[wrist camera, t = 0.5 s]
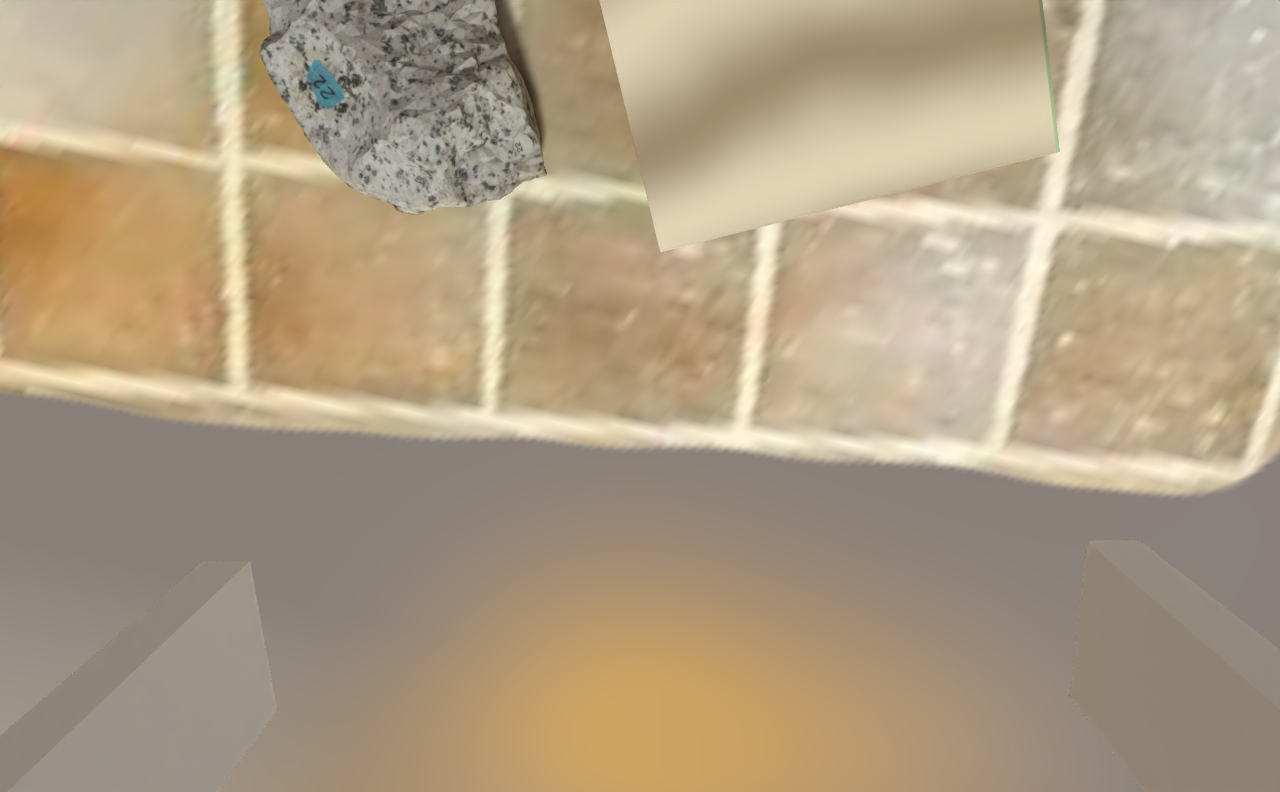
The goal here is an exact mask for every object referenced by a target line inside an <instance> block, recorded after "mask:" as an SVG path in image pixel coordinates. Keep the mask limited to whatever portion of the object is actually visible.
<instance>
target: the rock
mask: <svg viewBox="0 0 1280 792" xmlns="http://www.w3.org/2000/svg"><path fill="white" fill-rule="evenodd" d="M263 3H264V6H265V9H266V11H267V14H268V17H269V19H270V29H269V30H270V35H271V36H269V37H268V38H266V39H265V40H264V42H263V43H262V45H261V49H260V56H261V59H262V61H263V63H264V65H265V67H266V72H267V74H268V75H269V77H270V78H271V80H272V82H273V83H274V85H275V87H276V89H277V91H278V93H279V95H280V97H282V98H283V99H284V100H285V102H286V104H287V105H288V107H289V109H290V110H291V112H292V113H293V115H294V117H295V118H296V120H297V122H298V123H299V125H300V126H301V128H302V130H303V132H304V134H305V136H306V138H307V139H308V140H309V142H310V143H311V144H312V145H313V147H314V148H315V149H316V151H317V152H318V153H319V155H320V156H321V158H322V160H323V161H324V163H325V164H326V165H327V166H328V167H329V168H330V169H331V170H332V171H333V172H334V173H335V174H336V175H337V176H338V177H339V178H340V179H341V180H342V181H344V182H345V183H346V184H347V185H348V186H349V187H351V188H353V189H355V190H356V191H357V192H359V193H361V194H364V195H367V196H371V197H373V198H375V199H378V200H382V201H385V202H387V203H391V204H392V205H394V207H395V209H396V210H397V211H399V212H402V213H407V214H412V215H419V214H421V213H423V212H425V211H432V210H434V209H437V208H439V207H457V208H458V207H468V206H473V205H476V204H479V203H482V202H486V201H491V200H500V199H501V198H502V197H504V196H506V195H508V194H510V193H511V192H512V191H513V190H514V189H515V187H517V186H518V185H520V184H521V183H522V182H524V181H529V180H532V179H534V178H539V177H542V176H545V175H546V174H547V172H546V170H545V167H544V162H543V158H542V152H541V140H540V133H539V130H538V126H537V123H536V119H535V115H534V109H533V104H532V102H531V99H530V96H529V93H528V90H527V87H526V85H525V82H524V80H523V78H522V76H521V74H520V72H519V70H518V69H517V68H516V66H515V65H514V63H513V61H512V60H511V58H510V56H509V54H508V52H507V49H506V45H505V41H504V39H503V36H502V34H501V32H500V28H499V22H498V18H497V11H496V5H495V0H263Z"/></svg>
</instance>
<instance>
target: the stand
mask: <svg viewBox="0 0 1280 792" xmlns="http://www.w3.org/2000/svg"><path fill="white" fill-rule="evenodd" d="M600 5H601V9H602V13H603V17H604V21H605V25H606V29H607V33H608V38H609V42H610V46H611V50H612V54H613V58H614V62H615V66H616V71H617V75H618V79H619V83H620V87H621V91H622V95H623V99H624V104H625V108H626V112H627V116H628V120H629V124H630V128H631V132H632V137H633V141H634V145H635V149H636V153H637V157H638V161H639V165H640V170H641V174H642V178H643V182H644V186H645V190H646V194H647V198H648V203H649V207H650V211H651V215H652V219H653V223H654V227H655V231H656V236H657V240H658V244H659V248H660V252H663V251H667V250H671V249H675V248H679V247H683V246H687V245H691V244H695V243H699V242H703V241H707V240H711V239H715V238H719V237H723V236H727V235H731V234H735V233H739V232H743V231H747V230H751V229H755V228H759V227H763V226H767V225H771V224H775V223H779V222H783V221H787V220H791V219H795V218H799V217H803V216H806V215H810V214H814V213H818V212H822V211H826V210H830V209H834V208H838V207H842V206H846V205H850V204H854V203H858V202H862V201H866V200H870V199H874V198H878V197H882V196H886V195H890V194H894V193H898V192H902V191H906V190H910V189H914V188H918V187H922V186H926V185H930V184H934V183H938V182H942V181H946V180H950V179H954V178H957V177H961V176H965V175H969V174H973V173H977V172H981V171H985V170H989V169H993V168H997V167H1001V166H1005V165H1009V164H1013V163H1017V162H1021V161H1025V160H1029V159H1033V158H1037V157H1041V156H1045V155H1049V154H1053V153H1057V152H1059V151H1060V149H1059V141H1058V132H1057V123H1056V115H1055V106H1054V98H1053V89H1052V81H1051V72H1050V63H1049V55H1048V46H1047V38H1046V29H1045V21H1044V12H1043V3H1042V0H600Z"/></svg>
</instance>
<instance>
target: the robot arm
mask: <svg viewBox="0 0 1280 792" xmlns="http://www.w3.org/2000/svg"><path fill="white" fill-rule="evenodd" d="M1069 696H1070V698H1071V699H1072V700H1073V701H1074V703H1075V704H1076V705H1077V707H1078V708H1079V709H1080V710H1081V712H1082V713H1083V714H1084V716H1085V717H1086V718H1087V720H1088V721H1089V722H1090V723H1091V724H1092V726H1093V727H1094V729H1095V730H1096V731H1097V733H1098V734H1099V735H1100V736H1101V738H1102V739H1103V740H1104V741H1105V743H1106V744H1107V745H1108V747H1109V748H1110V749H1111V751H1112V752H1113V753H1114V755H1115V756H1116V757H1117V758H1118V760H1119V761H1120V762H1121V764H1122V765H1123V766H1124V767H1125V769H1126V770H1127V771H1128V773H1129V774H1130V775H1131V777H1132V778H1133V779H1134V780H1135V782H1136V783H1137V784H1138V786H1139V787H1140V788H1141V789H1142V791H1143V792H1280V650H1279V649H1278V648H1276V647H1275V646H1274V645H1273V644H1271V643H1270V642H1269V641H1268V640H1266V639H1265V638H1264V637H1262V636H1261V635H1260V634H1259V633H1257V632H1256V631H1255V630H1253V629H1252V628H1251V627H1250V626H1248V625H1247V624H1246V623H1244V622H1243V621H1242V620H1241V619H1239V618H1238V617H1237V616H1235V615H1234V614H1233V613H1231V612H1230V611H1229V610H1228V609H1226V608H1225V607H1224V606H1223V605H1221V604H1220V603H1219V602H1217V601H1216V600H1215V599H1213V598H1212V597H1211V596H1210V595H1209V594H1207V593H1206V592H1205V591H1203V590H1202V589H1201V588H1200V587H1198V586H1197V585H1196V584H1194V583H1193V582H1191V580H1189V579H1188V578H1186V577H1185V576H1184V575H1183V574H1182V573H1180V572H1179V571H1178V570H1176V569H1175V568H1174V567H1173V566H1171V565H1170V564H1169V563H1167V562H1166V561H1165V560H1163V559H1162V558H1161V557H1160V556H1158V555H1157V554H1156V553H1155V552H1153V551H1152V550H1151V549H1149V548H1148V547H1147V546H1146V545H1144V544H1143V543H1142V542H1140V541H1139V540H1115V541H1114V540H1113V541H1088V542H1087V550H1086V560H1085V567H1084V576H1083V584H1082V593H1081V602H1080V610H1079V618H1078V627H1077V635H1076V644H1075V652H1074V661H1073V669H1072V679H1071V687H1070V695H1069ZM276 710H277V708H276V702H275V697H274V692H273V686H272V680H271V675H270V670H269V664H268V659H267V653H266V648H265V642H264V637H263V631H262V626H261V621H260V615H259V610H258V604H257V599H256V593H255V588H254V583H253V577H252V571H251V566H250V561H234V562H202V563H201V564H200V565H199V566H198V567H197V568H195V569H194V570H193V571H192V572H191V573H189V574H188V575H187V576H186V577H185V578H184V579H182V580H181V581H180V582H179V583H178V584H177V585H176V586H174V587H173V588H172V589H171V590H170V591H168V592H167V593H166V594H165V595H164V596H163V597H162V598H160V599H159V600H158V601H157V602H156V603H154V604H153V605H152V606H151V607H150V608H149V609H147V610H146V611H145V612H144V613H143V614H142V615H140V617H138V618H137V619H136V620H135V621H133V622H132V623H131V624H130V625H129V626H128V627H126V628H125V629H124V630H123V631H122V632H121V633H119V634H118V635H117V636H116V637H115V638H114V639H112V640H111V641H110V642H109V643H108V644H107V645H105V646H104V647H103V648H102V649H101V650H100V651H98V652H97V653H96V654H95V655H94V656H93V657H91V658H90V659H89V660H88V661H87V662H86V663H84V664H83V665H82V666H81V667H80V668H79V669H78V670H76V671H75V672H74V673H73V674H72V675H70V676H69V677H68V678H67V679H66V680H65V681H63V682H62V683H61V684H60V685H59V686H58V687H56V688H55V689H54V690H53V691H52V692H51V693H49V694H48V695H47V696H46V697H45V698H43V699H42V700H41V701H40V702H39V703H38V704H37V705H35V706H34V707H33V708H32V709H31V710H29V711H28V712H27V713H26V714H25V715H24V716H22V717H21V718H20V719H19V720H18V721H17V722H15V723H14V724H13V725H12V726H11V727H10V728H8V729H7V730H6V731H5V732H4V733H3V734H1V735H0V792H219V790H220V789H221V788H222V786H223V785H224V783H225V782H226V781H227V779H228V778H229V776H230V775H231V774H232V772H233V771H234V769H235V768H236V767H237V765H238V764H239V762H240V761H241V760H242V758H243V757H244V755H245V754H246V752H247V751H248V749H249V748H250V747H251V745H252V744H253V743H254V741H255V740H256V738H257V737H258V736H259V734H260V733H261V731H262V730H263V729H264V727H265V726H266V724H267V723H268V722H269V720H270V719H271V717H272V716H273V714H274V713H275V712H276Z"/></svg>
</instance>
